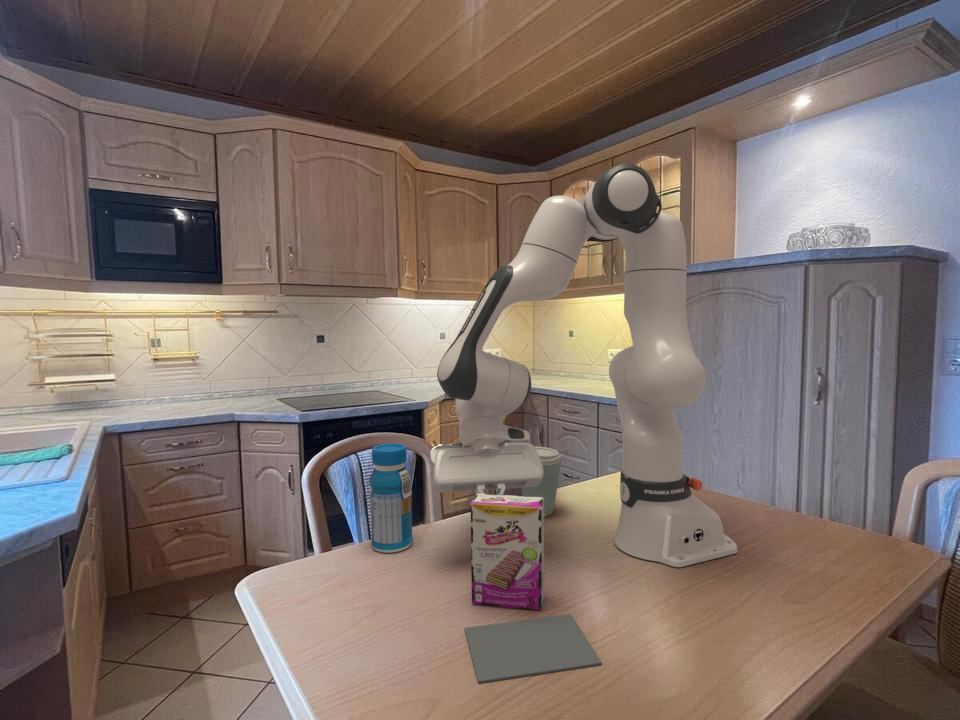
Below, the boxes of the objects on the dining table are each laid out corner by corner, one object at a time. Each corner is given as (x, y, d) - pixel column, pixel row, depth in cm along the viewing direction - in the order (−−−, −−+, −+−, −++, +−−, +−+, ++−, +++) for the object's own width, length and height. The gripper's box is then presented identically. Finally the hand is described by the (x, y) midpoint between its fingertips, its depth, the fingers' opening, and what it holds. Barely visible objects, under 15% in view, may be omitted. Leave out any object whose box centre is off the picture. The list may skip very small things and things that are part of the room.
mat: (570, 615, 73) (570, 613, 73) (602, 664, 63) (602, 662, 63) (464, 629, 71) (464, 627, 70) (478, 683, 60) (478, 681, 60)
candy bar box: (470, 606, 77) (468, 502, 76) (477, 589, 81) (475, 492, 80) (543, 613, 74) (541, 506, 73) (545, 595, 79) (544, 495, 78)
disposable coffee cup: (550, 501, 122) (549, 442, 121) (571, 517, 112) (570, 451, 111) (510, 507, 119) (508, 446, 118) (528, 524, 108) (527, 456, 107)
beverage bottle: (377, 558, 93) (373, 454, 92) (366, 541, 101) (362, 445, 100) (419, 548, 97) (416, 448, 96) (405, 533, 105) (402, 440, 104)
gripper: (429, 435, 91) (435, 506, 82) (536, 431, 94) (553, 498, 85) (428, 453, 95) (433, 522, 86) (530, 448, 99) (545, 514, 90)
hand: (493, 510), depth 86 cm, fingers closed
